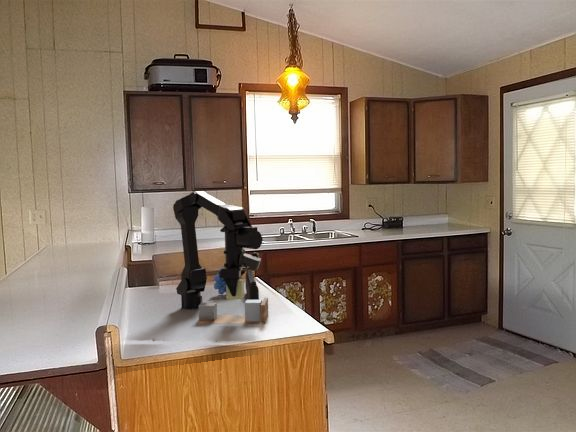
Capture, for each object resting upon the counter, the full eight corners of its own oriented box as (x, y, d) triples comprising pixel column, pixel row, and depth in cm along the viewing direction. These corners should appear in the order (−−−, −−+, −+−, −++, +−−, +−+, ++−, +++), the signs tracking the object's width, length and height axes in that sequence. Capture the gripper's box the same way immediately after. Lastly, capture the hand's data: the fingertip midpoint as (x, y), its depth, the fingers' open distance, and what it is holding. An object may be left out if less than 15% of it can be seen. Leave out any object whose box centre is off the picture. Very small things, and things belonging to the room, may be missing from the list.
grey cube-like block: (199, 321, 151) (198, 305, 151) (202, 317, 155) (201, 302, 155) (214, 321, 151) (213, 305, 150) (217, 317, 155) (216, 302, 154)
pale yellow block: (226, 299, 150) (226, 280, 149) (229, 296, 154) (228, 278, 153) (242, 299, 149) (241, 280, 149) (244, 296, 153) (243, 278, 153)
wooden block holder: (196, 326, 149) (195, 304, 148) (203, 318, 158) (202, 297, 157) (264, 326, 147) (264, 304, 146) (268, 318, 156) (268, 297, 155)
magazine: (259, 288, 160) (253, 251, 188) (249, 289, 160) (245, 251, 187) (259, 331, 166) (253, 288, 194) (250, 331, 166) (245, 289, 194)
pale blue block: (245, 321, 150) (244, 302, 149) (247, 317, 154) (246, 299, 153) (260, 321, 149) (260, 302, 149) (262, 317, 153) (261, 299, 153)
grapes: (238, 290, 197) (237, 262, 196) (243, 293, 190) (242, 264, 190) (211, 293, 192) (210, 264, 191) (215, 297, 186) (214, 267, 185)
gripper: (254, 251, 140) (255, 302, 142) (262, 242, 159) (263, 287, 160) (217, 251, 141) (219, 302, 142) (230, 242, 160) (231, 287, 161)
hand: (235, 294), depth 151 cm, fingers closed on pale yellow block, 4 cm apart
